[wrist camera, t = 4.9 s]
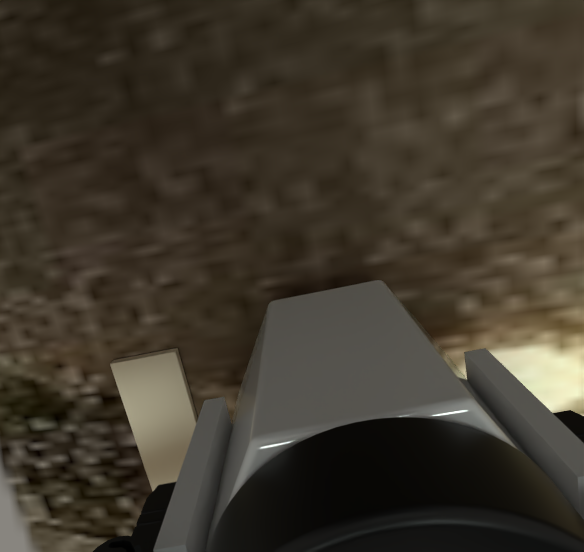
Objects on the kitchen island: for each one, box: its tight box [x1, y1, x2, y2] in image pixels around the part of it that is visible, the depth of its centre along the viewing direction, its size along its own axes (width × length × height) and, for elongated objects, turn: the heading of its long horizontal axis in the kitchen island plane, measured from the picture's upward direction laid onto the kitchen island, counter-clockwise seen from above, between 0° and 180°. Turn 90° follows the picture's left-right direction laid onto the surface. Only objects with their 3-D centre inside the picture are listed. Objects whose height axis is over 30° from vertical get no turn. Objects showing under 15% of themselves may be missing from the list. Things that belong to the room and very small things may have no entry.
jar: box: [205, 280, 584, 552], centre depth 13 cm, size 9×8×12 cm
